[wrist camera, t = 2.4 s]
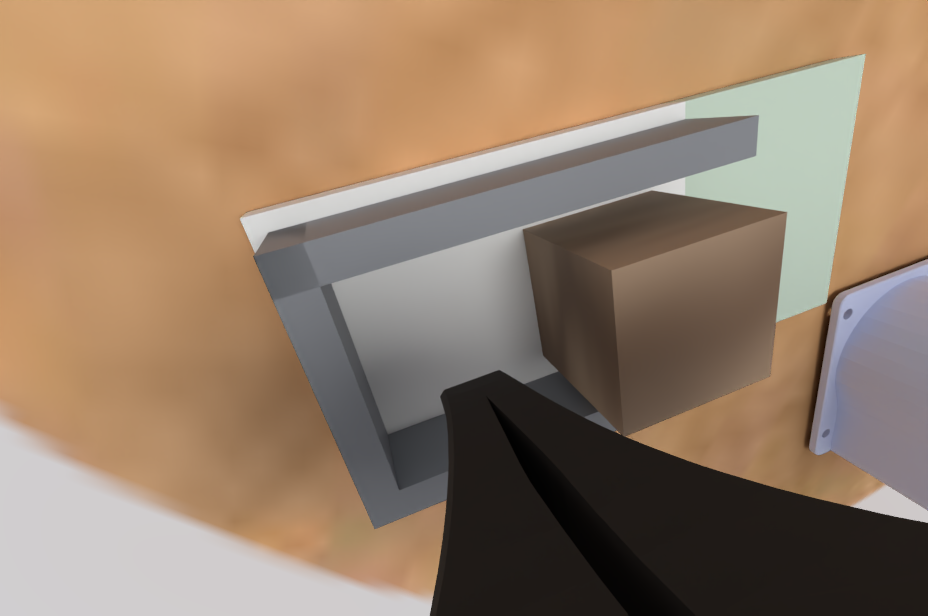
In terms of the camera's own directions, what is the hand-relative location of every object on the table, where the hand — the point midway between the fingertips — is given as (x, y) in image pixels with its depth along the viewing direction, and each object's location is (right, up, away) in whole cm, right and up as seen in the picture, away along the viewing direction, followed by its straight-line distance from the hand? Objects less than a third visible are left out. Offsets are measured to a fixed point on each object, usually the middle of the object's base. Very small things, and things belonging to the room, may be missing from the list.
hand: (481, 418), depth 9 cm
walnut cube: (+4, +3, +5) cm, 7 cm away
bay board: (+5, +4, +6) cm, 9 cm away
